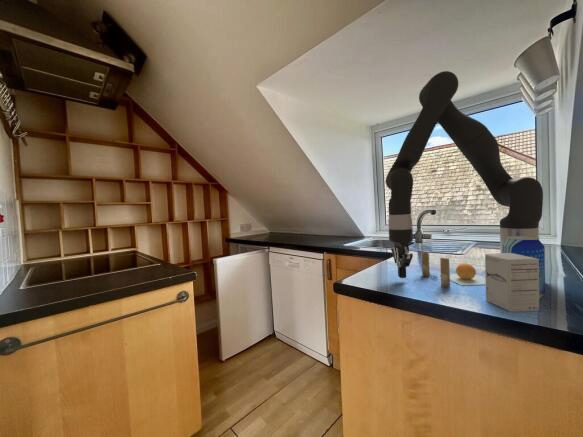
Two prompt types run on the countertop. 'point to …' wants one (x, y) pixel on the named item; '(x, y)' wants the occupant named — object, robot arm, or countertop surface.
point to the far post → (425, 263)
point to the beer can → (528, 253)
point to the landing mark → (474, 281)
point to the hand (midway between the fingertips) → (402, 277)
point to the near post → (445, 272)
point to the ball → (466, 271)
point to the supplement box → (512, 281)
